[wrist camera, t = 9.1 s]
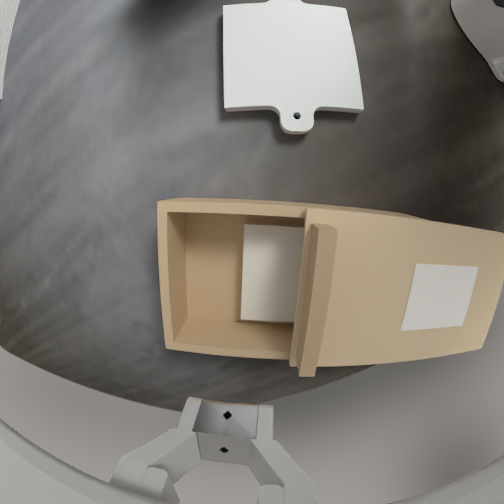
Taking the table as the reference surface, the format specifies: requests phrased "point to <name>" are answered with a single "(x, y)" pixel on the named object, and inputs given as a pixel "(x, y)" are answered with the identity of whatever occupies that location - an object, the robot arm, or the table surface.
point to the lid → (392, 289)
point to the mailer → (232, 273)
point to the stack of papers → (6, 32)
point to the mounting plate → (289, 61)
